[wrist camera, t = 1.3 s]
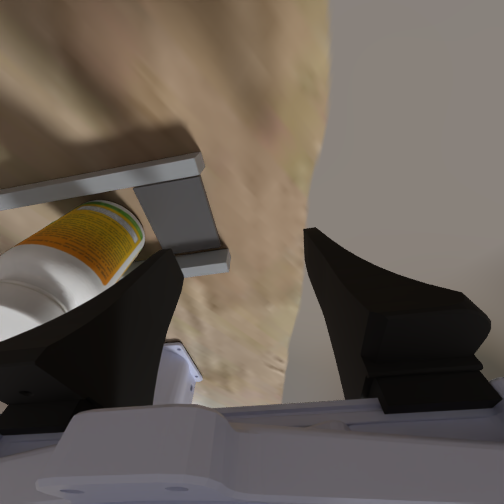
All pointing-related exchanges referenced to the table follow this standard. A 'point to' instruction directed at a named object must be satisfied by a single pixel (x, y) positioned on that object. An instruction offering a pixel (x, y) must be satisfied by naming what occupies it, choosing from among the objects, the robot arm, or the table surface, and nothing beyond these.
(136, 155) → the table surface
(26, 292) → the supplement bottle
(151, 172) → the channel
